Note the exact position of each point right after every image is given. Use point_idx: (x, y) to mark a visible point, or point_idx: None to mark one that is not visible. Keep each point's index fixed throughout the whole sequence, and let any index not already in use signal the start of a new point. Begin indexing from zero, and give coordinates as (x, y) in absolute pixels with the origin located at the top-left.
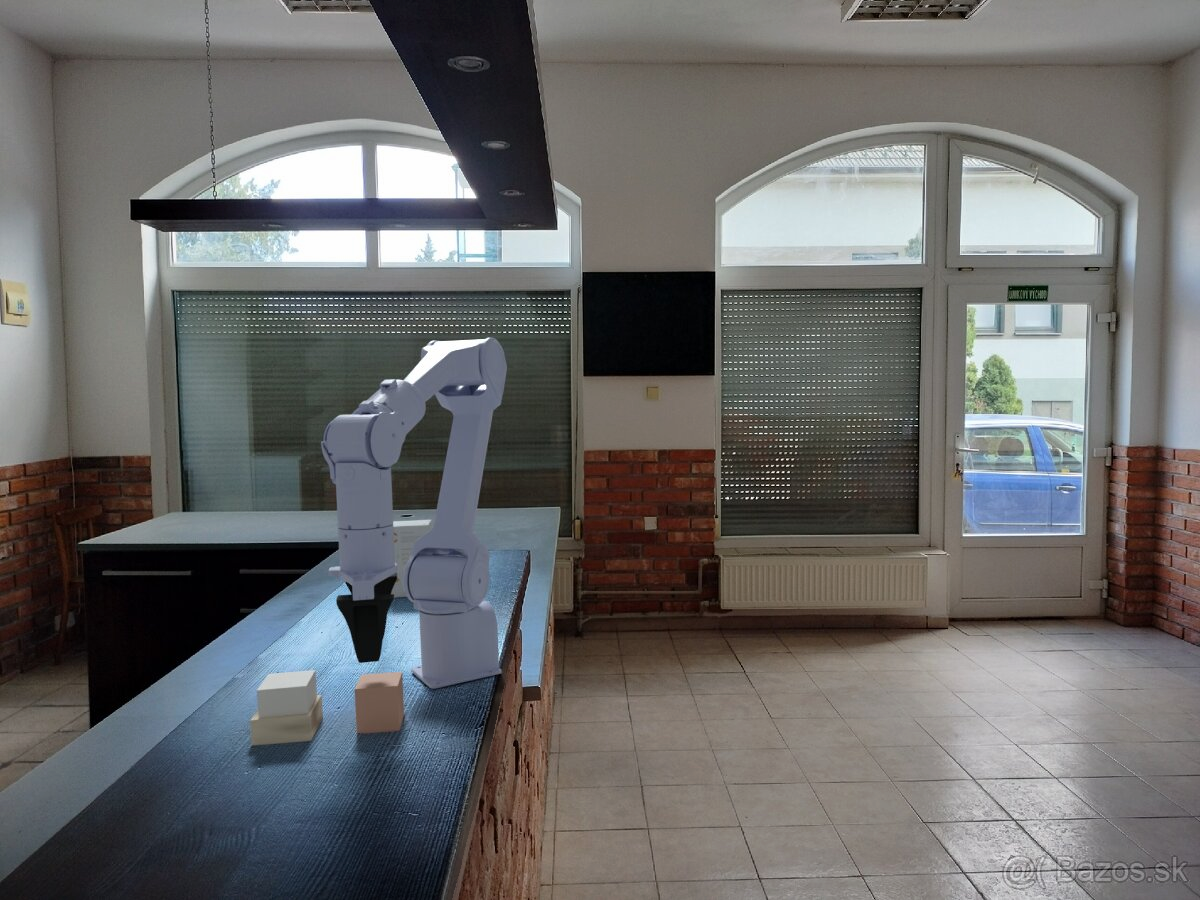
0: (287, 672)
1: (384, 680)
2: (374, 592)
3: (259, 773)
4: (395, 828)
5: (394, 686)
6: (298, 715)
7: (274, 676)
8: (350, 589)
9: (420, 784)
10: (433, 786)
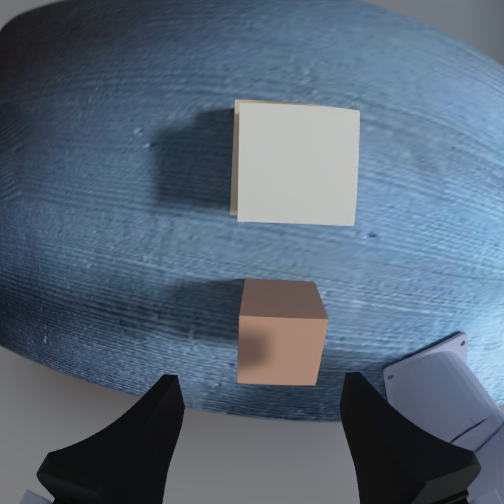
0: (356, 157)
1: (274, 362)
2: (375, 495)
3: (130, 151)
4: (26, 323)
5: (237, 378)
6: (236, 192)
7: (336, 127)
8: (402, 470)
9: (90, 351)
10: (88, 361)
